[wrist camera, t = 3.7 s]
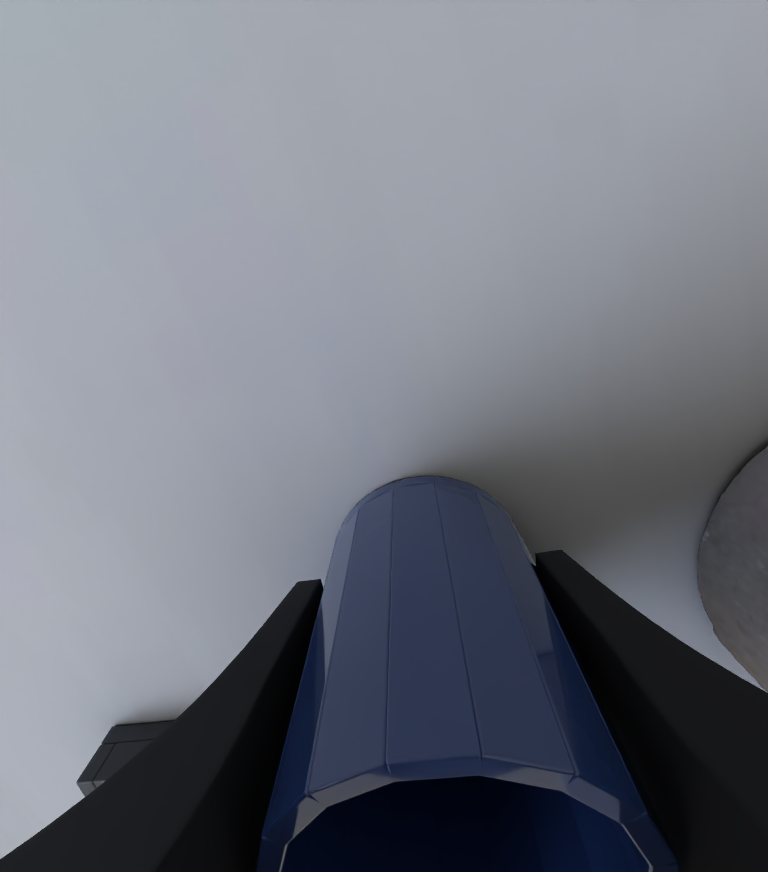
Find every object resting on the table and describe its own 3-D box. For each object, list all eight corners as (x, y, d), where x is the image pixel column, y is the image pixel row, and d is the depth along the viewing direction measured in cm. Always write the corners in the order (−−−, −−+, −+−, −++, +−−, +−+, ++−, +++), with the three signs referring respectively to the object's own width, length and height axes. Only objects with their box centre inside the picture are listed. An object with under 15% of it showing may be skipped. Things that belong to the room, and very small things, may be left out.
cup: (514, 462, 11) (694, 738, 4) (526, 621, 12) (666, 993, 6) (316, 490, 11) (198, 777, 5) (354, 639, 13) (308, 1001, 6)
